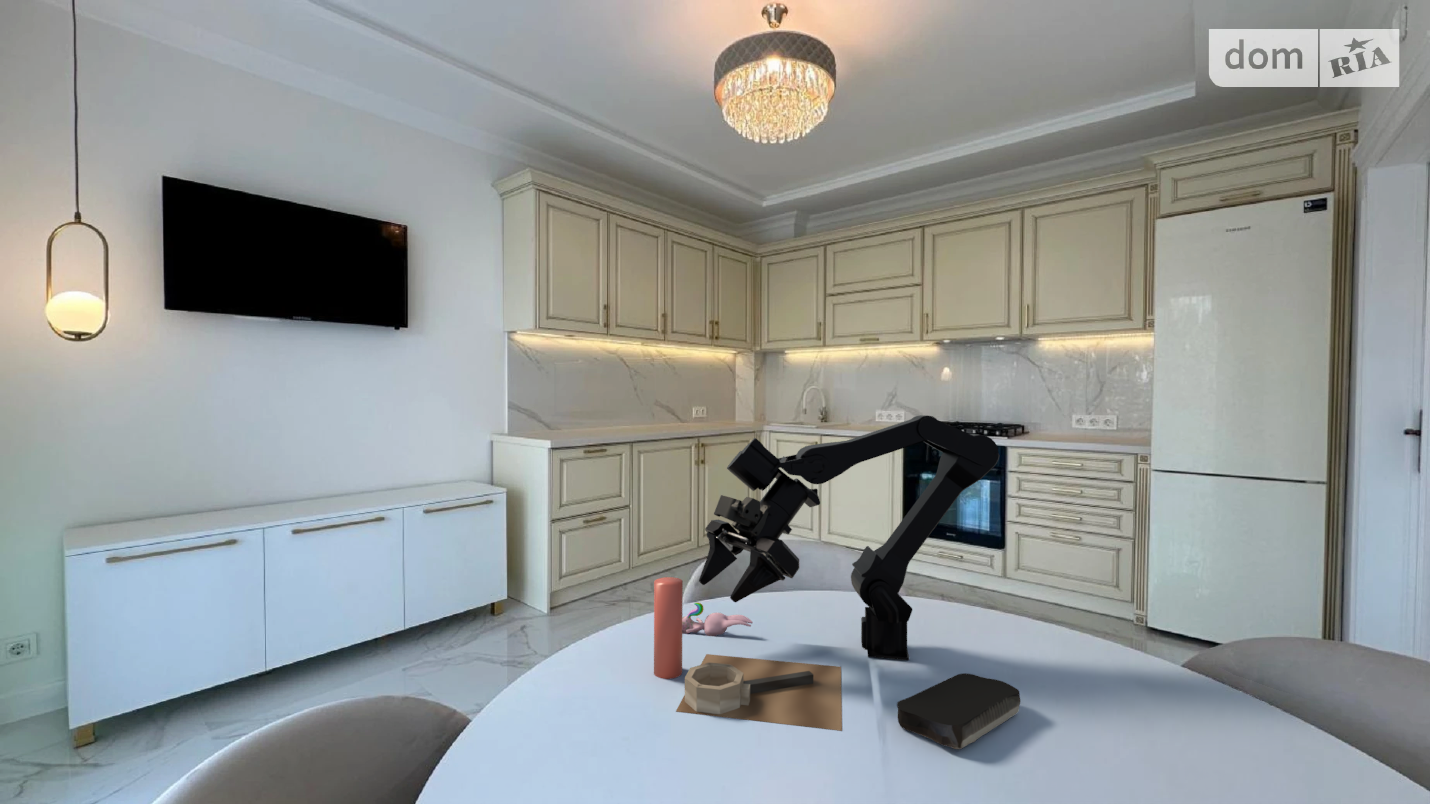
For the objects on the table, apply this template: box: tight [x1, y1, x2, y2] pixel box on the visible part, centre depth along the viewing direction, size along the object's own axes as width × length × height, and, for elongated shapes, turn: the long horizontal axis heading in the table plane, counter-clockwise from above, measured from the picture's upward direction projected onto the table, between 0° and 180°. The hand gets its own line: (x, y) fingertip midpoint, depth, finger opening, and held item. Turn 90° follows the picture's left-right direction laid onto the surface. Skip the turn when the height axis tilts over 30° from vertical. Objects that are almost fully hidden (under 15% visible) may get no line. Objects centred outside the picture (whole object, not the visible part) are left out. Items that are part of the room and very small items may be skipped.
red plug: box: [653, 576, 684, 680], centre depth 82 cm, size 4×4×14 cm
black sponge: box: [896, 673, 1021, 750], centre depth 72 cm, size 16×8×4 cm, turn 126°
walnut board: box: [675, 653, 843, 732], centre depth 78 cm, size 20×17×4 cm
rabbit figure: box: [682, 602, 754, 637], centre depth 98 cm, size 6×6×15 cm
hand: (716, 591), depth 86 cm, fingers open, 9 cm apart
